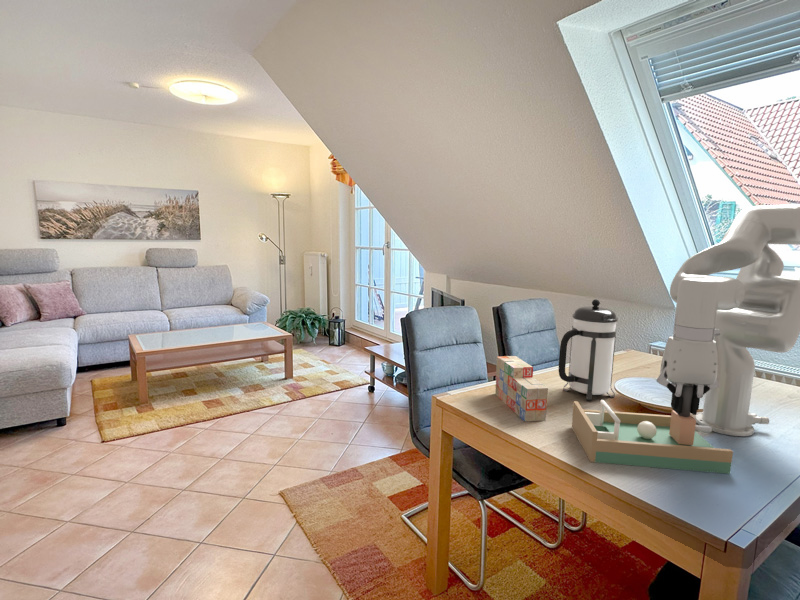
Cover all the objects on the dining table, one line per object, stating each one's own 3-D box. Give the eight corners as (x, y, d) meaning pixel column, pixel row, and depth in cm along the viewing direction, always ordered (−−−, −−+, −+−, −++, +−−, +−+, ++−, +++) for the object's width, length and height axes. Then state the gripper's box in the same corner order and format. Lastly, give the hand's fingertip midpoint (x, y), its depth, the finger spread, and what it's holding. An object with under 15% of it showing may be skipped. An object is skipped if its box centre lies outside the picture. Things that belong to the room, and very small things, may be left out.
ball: (651, 435, 106) (653, 419, 105) (658, 442, 102) (660, 426, 101) (633, 433, 106) (635, 417, 106) (640, 441, 102) (641, 424, 102)
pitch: (688, 435, 111) (692, 401, 110) (730, 473, 94) (735, 433, 92) (571, 426, 115) (574, 393, 114) (590, 461, 98) (593, 422, 96)
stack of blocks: (546, 421, 119) (549, 376, 117) (524, 422, 118) (527, 377, 116) (513, 393, 140) (515, 355, 138) (494, 393, 139) (496, 355, 137)
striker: (704, 437, 104) (711, 383, 103) (715, 447, 100) (723, 391, 98) (669, 434, 106) (675, 381, 104) (678, 444, 101) (685, 388, 99)
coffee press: (562, 382, 151) (568, 294, 146) (614, 390, 144) (623, 298, 139) (556, 399, 135) (563, 301, 131) (614, 408, 128) (623, 305, 124)
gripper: (723, 331, 102) (713, 408, 104) (647, 328, 104) (640, 403, 107) (743, 339, 94) (732, 421, 97) (661, 335, 97) (652, 415, 99)
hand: (684, 411), depth 102 cm, fingers closed on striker, 2 cm apart
